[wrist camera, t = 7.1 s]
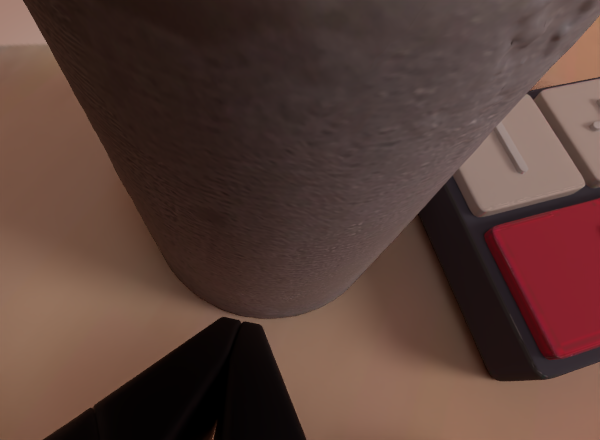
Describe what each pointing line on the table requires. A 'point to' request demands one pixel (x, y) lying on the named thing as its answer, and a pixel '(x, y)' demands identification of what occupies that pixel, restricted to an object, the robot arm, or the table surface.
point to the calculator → (528, 235)
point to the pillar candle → (295, 122)
